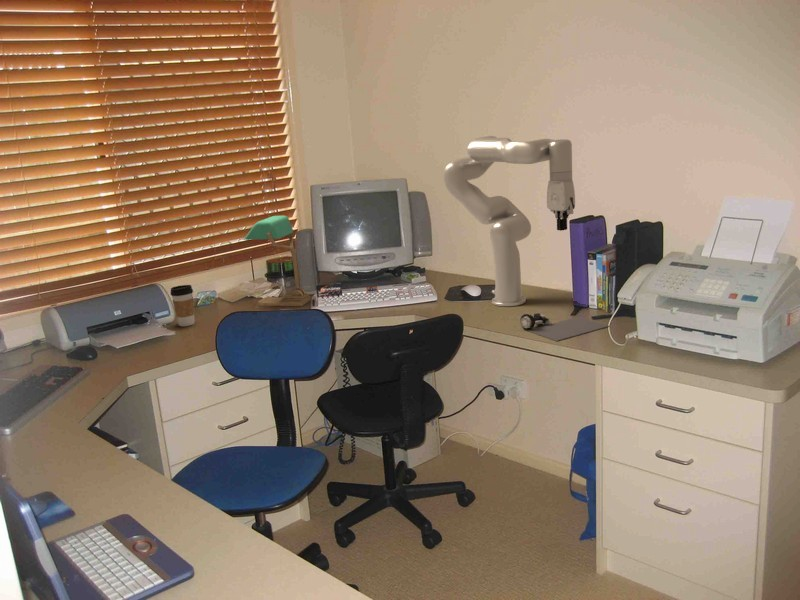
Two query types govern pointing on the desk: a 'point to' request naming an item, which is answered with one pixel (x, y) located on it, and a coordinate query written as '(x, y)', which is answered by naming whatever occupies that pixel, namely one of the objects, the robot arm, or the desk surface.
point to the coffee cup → (183, 304)
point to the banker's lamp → (275, 230)
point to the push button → (533, 321)
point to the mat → (567, 328)
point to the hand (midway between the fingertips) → (562, 229)
